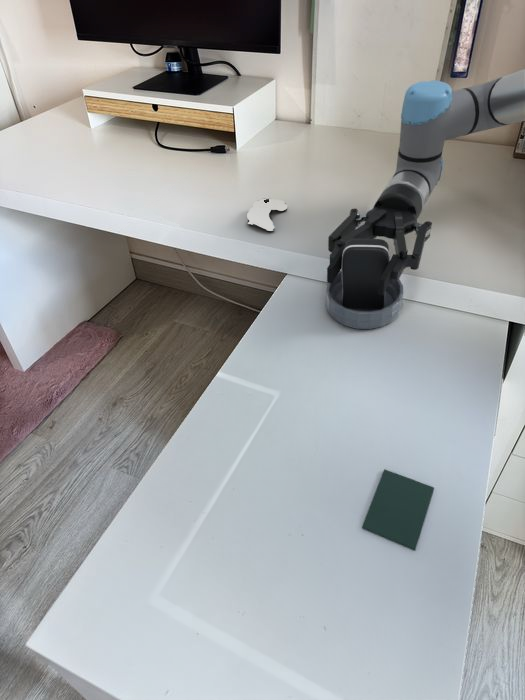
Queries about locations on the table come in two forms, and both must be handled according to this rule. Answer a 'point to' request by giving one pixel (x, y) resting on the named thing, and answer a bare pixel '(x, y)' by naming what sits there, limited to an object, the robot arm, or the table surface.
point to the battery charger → (363, 272)
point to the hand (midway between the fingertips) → (354, 281)
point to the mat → (398, 509)
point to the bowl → (364, 316)
